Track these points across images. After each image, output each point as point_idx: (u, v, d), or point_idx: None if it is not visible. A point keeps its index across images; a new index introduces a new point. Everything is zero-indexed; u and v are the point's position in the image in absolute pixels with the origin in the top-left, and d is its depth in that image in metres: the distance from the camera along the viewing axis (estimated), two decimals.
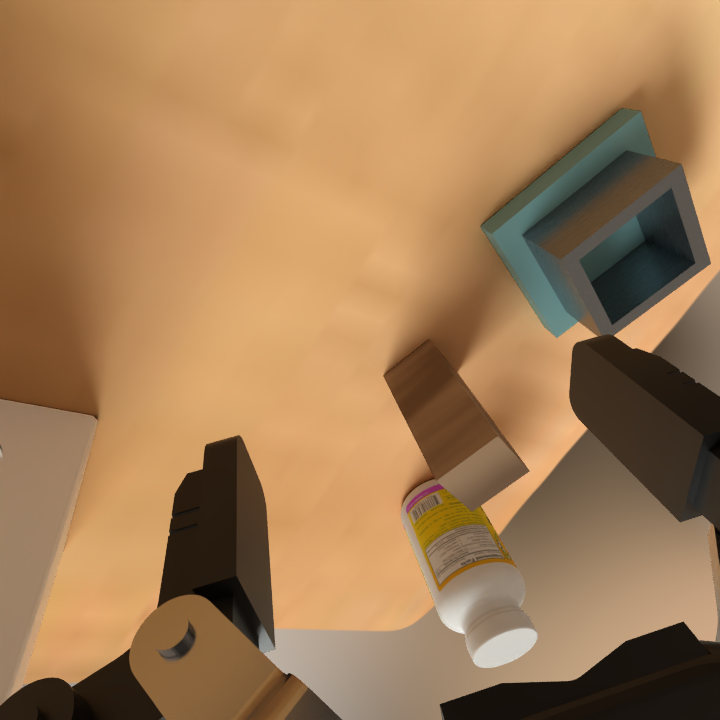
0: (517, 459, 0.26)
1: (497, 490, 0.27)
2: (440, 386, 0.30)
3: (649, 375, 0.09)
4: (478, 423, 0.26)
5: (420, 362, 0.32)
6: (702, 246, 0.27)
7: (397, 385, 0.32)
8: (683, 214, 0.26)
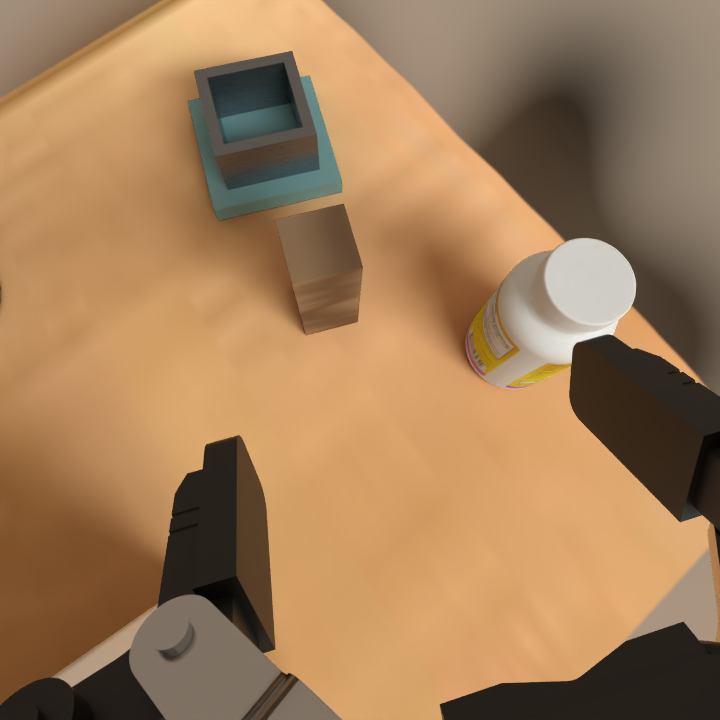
0: (319, 210, 0.27)
1: (349, 236, 0.27)
2: None
3: (649, 375, 0.09)
4: None
5: None
6: (271, 57, 0.35)
7: None
8: (233, 70, 0.35)
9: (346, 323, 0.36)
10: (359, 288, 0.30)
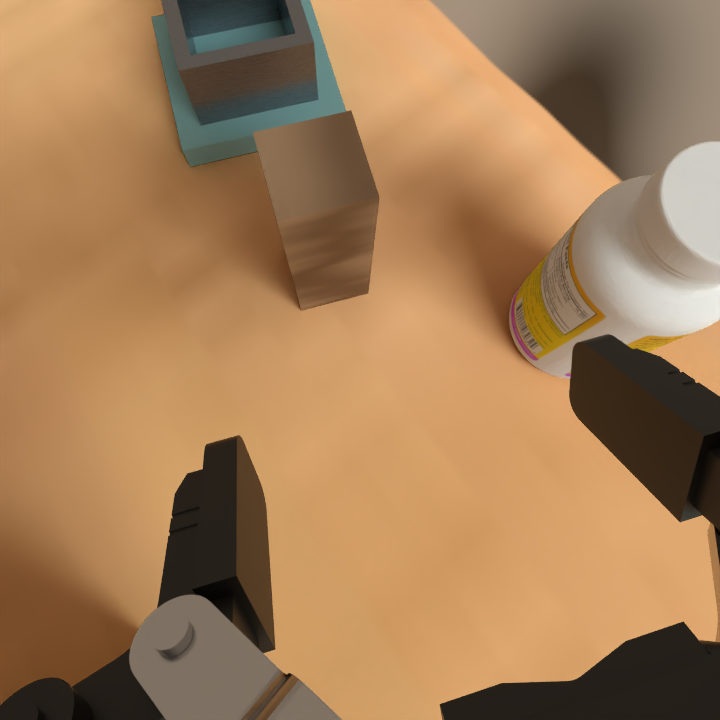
0: (316, 120, 0.19)
1: (359, 155, 0.19)
2: None
3: (649, 375, 0.09)
4: None
5: None
6: None
7: None
8: None
9: (353, 294, 0.28)
10: (373, 236, 0.21)
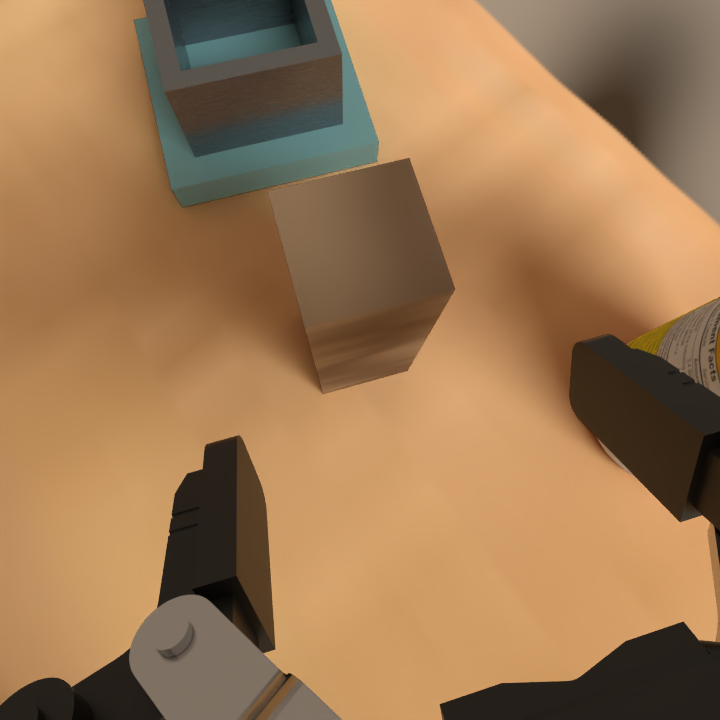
0: (359, 172, 0.13)
1: (423, 225, 0.13)
2: None
3: (649, 375, 0.09)
4: None
5: None
6: None
7: None
8: None
9: (390, 374, 0.22)
10: (431, 326, 0.16)
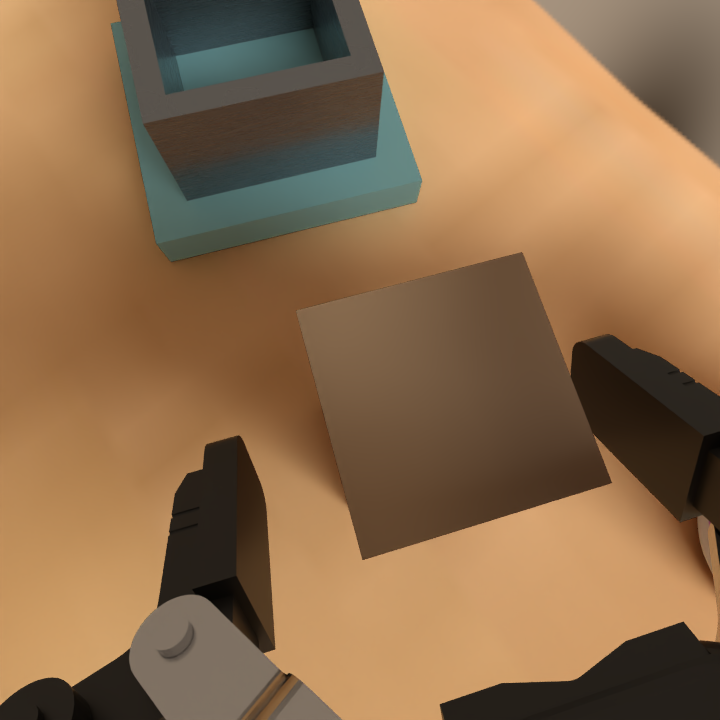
0: (442, 276, 0.08)
1: (552, 369, 0.08)
2: None
3: (649, 375, 0.09)
4: None
5: None
6: None
7: None
8: None
9: None
10: None
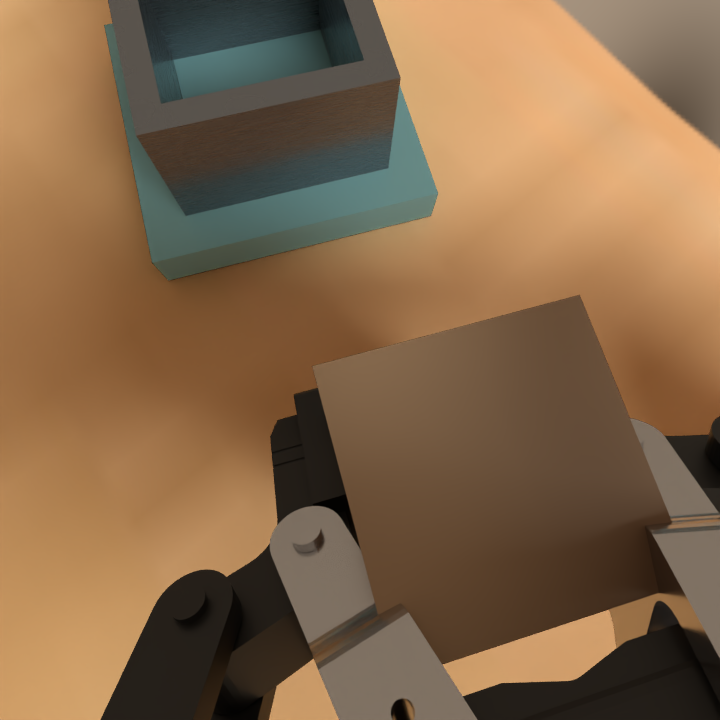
0: (486, 324, 0.07)
1: (619, 438, 0.07)
2: None
3: None
4: None
5: None
6: None
7: None
8: None
9: None
10: None
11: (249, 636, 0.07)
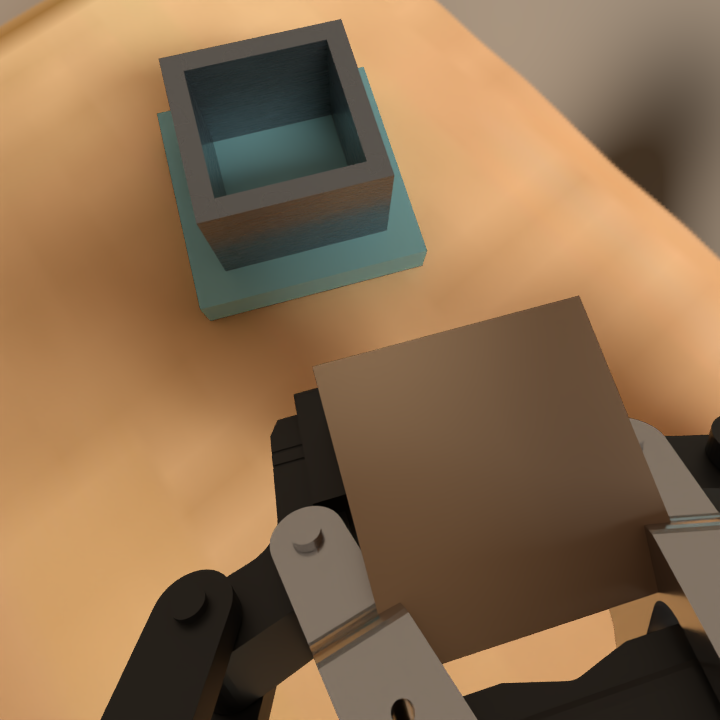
0: (486, 325, 0.07)
1: (618, 438, 0.07)
2: None
3: None
4: None
5: None
6: (303, 31, 0.19)
7: None
8: (233, 56, 0.18)
9: None
10: None
11: (249, 636, 0.07)
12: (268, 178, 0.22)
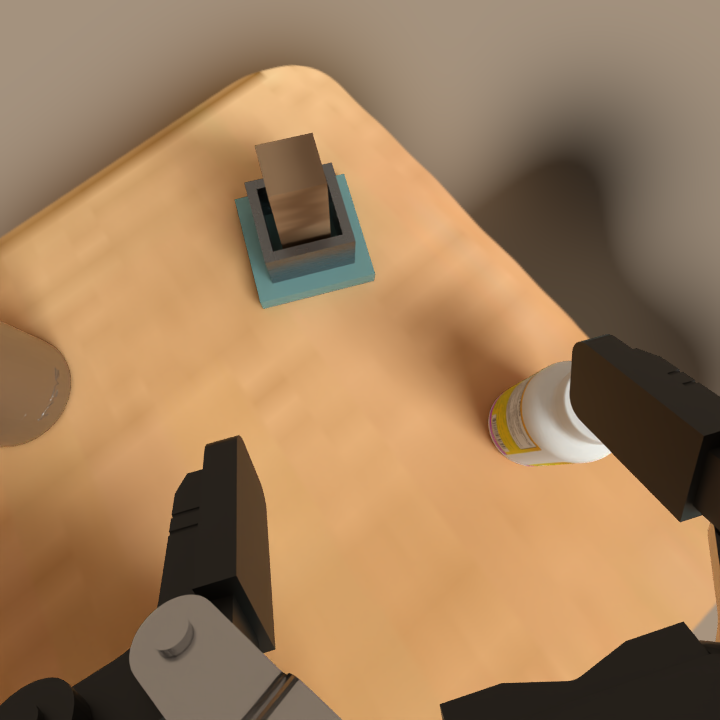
0: (291, 138, 0.33)
1: (316, 159, 0.32)
2: None
3: (649, 375, 0.09)
4: None
5: None
6: None
7: None
8: None
9: None
10: (328, 208, 0.35)
11: None
12: None
